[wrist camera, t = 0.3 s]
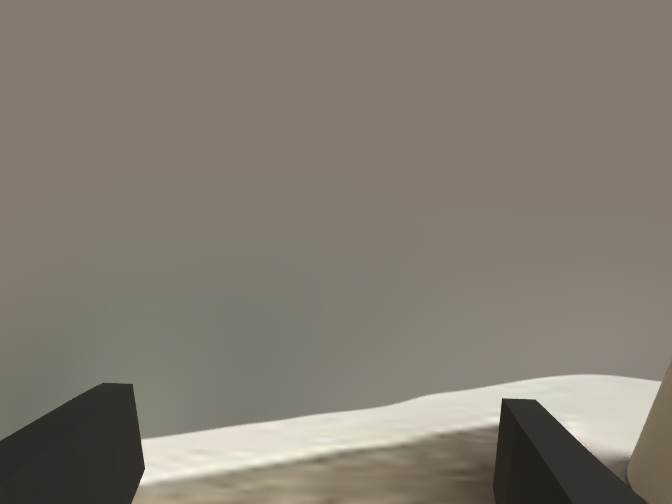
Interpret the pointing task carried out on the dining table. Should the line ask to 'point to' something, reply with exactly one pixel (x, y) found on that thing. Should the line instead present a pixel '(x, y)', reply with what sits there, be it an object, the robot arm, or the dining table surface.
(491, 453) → the dining table surface
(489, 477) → the dining table surface
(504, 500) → the robot arm
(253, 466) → the dining table surface
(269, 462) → the dining table surface
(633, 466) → the travel mug
